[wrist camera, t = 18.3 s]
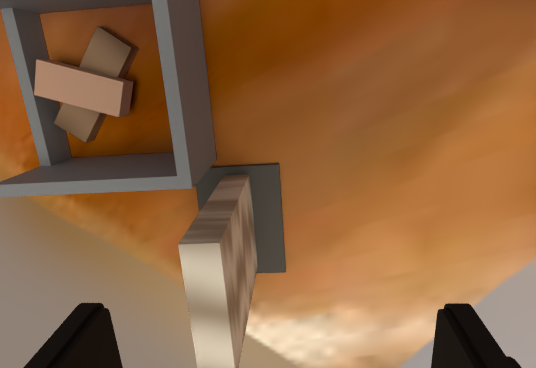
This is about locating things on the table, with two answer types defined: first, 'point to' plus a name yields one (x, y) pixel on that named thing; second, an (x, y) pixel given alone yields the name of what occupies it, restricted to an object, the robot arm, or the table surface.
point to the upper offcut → (83, 87)
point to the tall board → (220, 272)
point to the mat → (256, 209)
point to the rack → (116, 166)
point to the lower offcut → (103, 61)
